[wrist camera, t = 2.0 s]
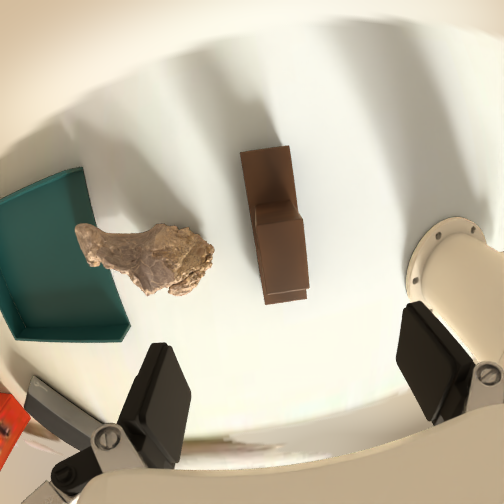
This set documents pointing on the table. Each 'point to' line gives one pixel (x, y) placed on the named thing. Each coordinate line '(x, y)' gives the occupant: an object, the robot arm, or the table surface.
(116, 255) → the rock
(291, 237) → the brown stepped block
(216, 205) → the table surface
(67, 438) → the hard drive
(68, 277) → the dustpan
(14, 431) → the file binder
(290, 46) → the table surface
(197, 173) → the table surface
